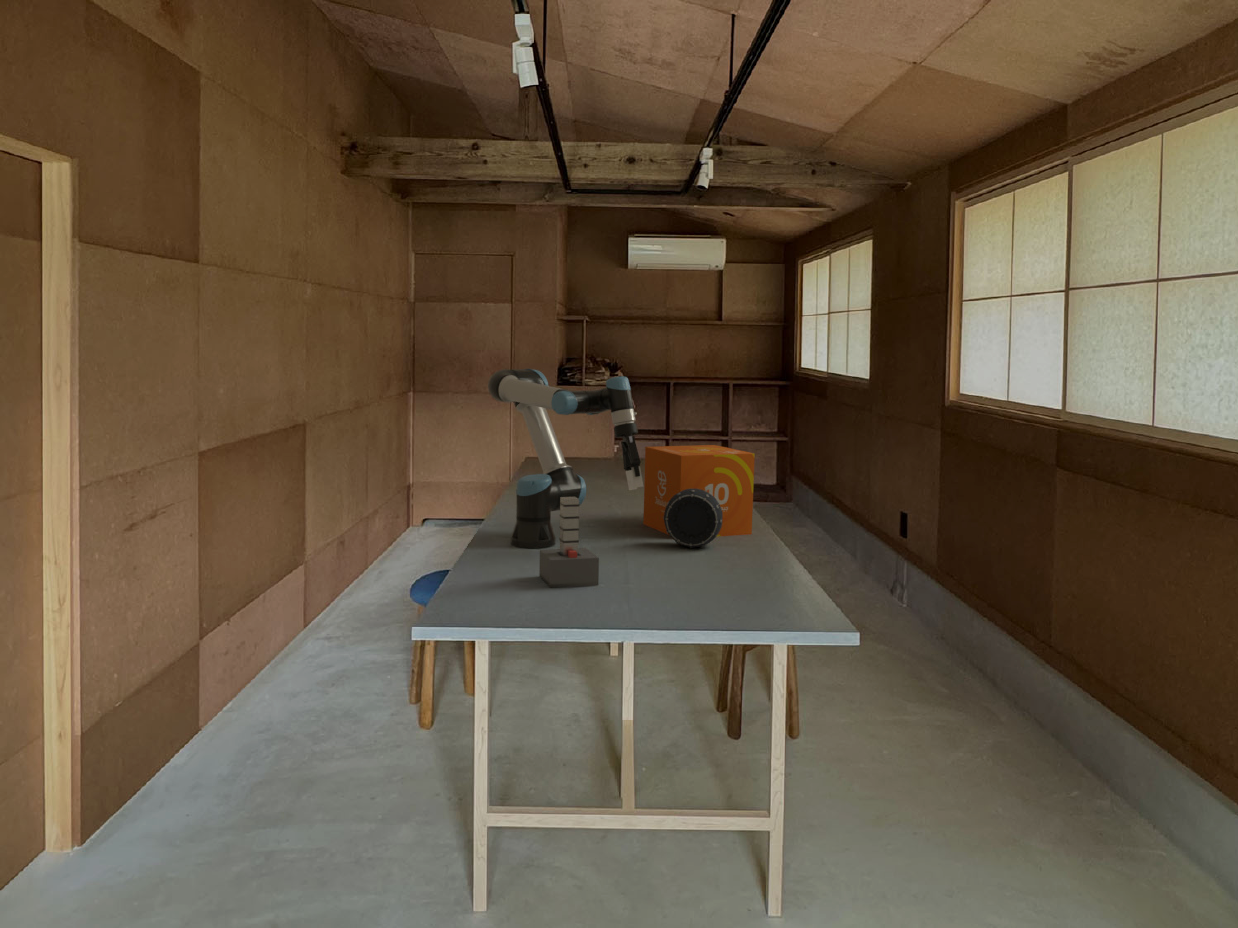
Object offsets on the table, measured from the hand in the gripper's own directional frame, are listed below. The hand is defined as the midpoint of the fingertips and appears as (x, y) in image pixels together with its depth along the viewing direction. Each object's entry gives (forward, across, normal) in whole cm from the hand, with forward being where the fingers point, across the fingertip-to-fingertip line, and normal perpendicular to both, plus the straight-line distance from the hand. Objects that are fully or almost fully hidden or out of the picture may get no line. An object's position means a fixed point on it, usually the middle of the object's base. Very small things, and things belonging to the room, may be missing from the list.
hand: (636, 488), depth 314 cm
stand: (+24, -27, +28) cm, 46 cm away
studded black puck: (+22, +18, -19) cm, 34 cm away
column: (+23, -27, +28) cm, 45 cm away
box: (+17, +49, -28) cm, 59 cm away
